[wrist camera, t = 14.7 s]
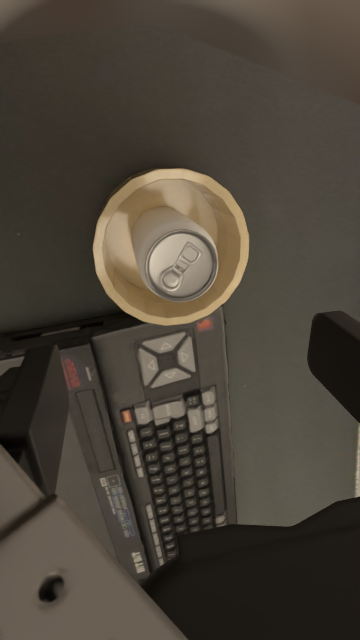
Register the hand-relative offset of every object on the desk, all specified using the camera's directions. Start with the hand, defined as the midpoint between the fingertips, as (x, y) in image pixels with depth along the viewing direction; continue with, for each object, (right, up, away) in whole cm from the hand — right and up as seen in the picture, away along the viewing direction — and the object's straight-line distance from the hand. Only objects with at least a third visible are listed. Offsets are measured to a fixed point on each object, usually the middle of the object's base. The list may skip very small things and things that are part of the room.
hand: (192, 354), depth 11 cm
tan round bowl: (-2, +10, +26) cm, 28 cm away
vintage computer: (-7, -17, +38) cm, 42 cm away
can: (-2, +10, +26) cm, 28 cm away
